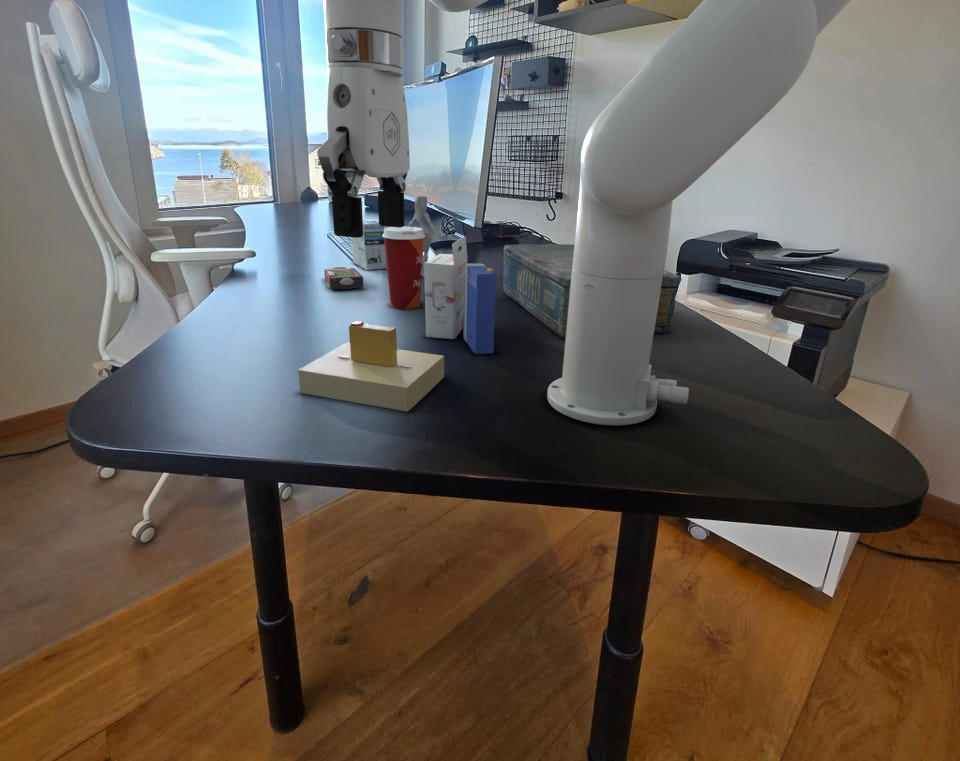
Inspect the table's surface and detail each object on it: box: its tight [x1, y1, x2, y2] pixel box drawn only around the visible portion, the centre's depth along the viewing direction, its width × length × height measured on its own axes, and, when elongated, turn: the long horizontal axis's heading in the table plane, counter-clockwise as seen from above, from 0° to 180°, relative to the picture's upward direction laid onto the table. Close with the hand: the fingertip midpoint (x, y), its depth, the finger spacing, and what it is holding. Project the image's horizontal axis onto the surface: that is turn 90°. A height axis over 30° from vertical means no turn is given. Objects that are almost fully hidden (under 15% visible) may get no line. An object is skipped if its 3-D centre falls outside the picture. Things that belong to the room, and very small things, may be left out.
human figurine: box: [407, 194, 443, 279], centre depth 122 cm, size 12×4×18 cm, turn 49°
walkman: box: [462, 262, 497, 355], centre depth 80 cm, size 8×3×12 cm, turn 14°
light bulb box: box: [351, 218, 388, 271], centre depth 135 cm, size 11×7×11 cm, turn 30°
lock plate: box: [297, 341, 445, 413], centre depth 67 cm, size 14×11×3 cm
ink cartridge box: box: [423, 235, 468, 340], centre depth 86 cm, size 9×5×15 cm, turn 168°
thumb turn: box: [348, 320, 398, 367], centre depth 65 cm, size 6×2×5 cm, turn 72°
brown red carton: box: [323, 266, 364, 290], centre depth 118 cm, size 7×3×15 cm
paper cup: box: [382, 226, 425, 310], centre depth 100 cm, size 8×8×14 cm
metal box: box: [502, 243, 682, 339], centre depth 100 cm, size 21×32×10 cm, turn 15°
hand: (371, 231), depth 62 cm, fingers open, 9 cm apart
